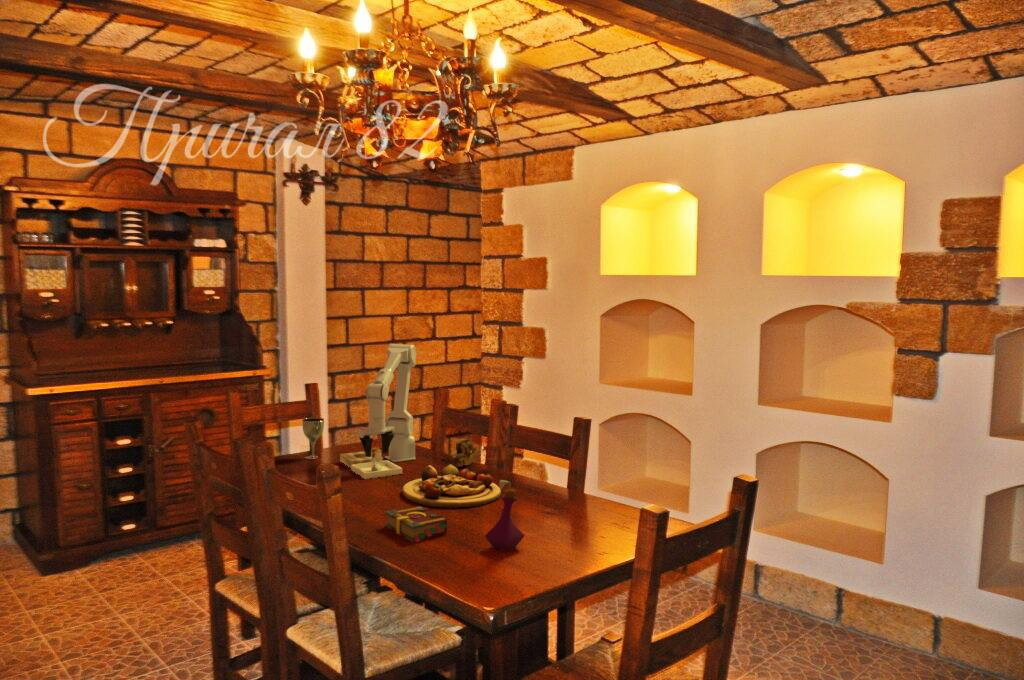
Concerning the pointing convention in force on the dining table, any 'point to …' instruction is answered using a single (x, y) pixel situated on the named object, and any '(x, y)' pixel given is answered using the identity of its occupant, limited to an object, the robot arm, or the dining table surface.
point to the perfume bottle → (505, 524)
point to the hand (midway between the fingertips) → (376, 454)
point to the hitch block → (354, 458)
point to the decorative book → (416, 523)
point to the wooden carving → (464, 453)
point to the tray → (386, 470)
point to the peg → (376, 459)
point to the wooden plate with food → (451, 488)
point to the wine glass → (313, 431)
